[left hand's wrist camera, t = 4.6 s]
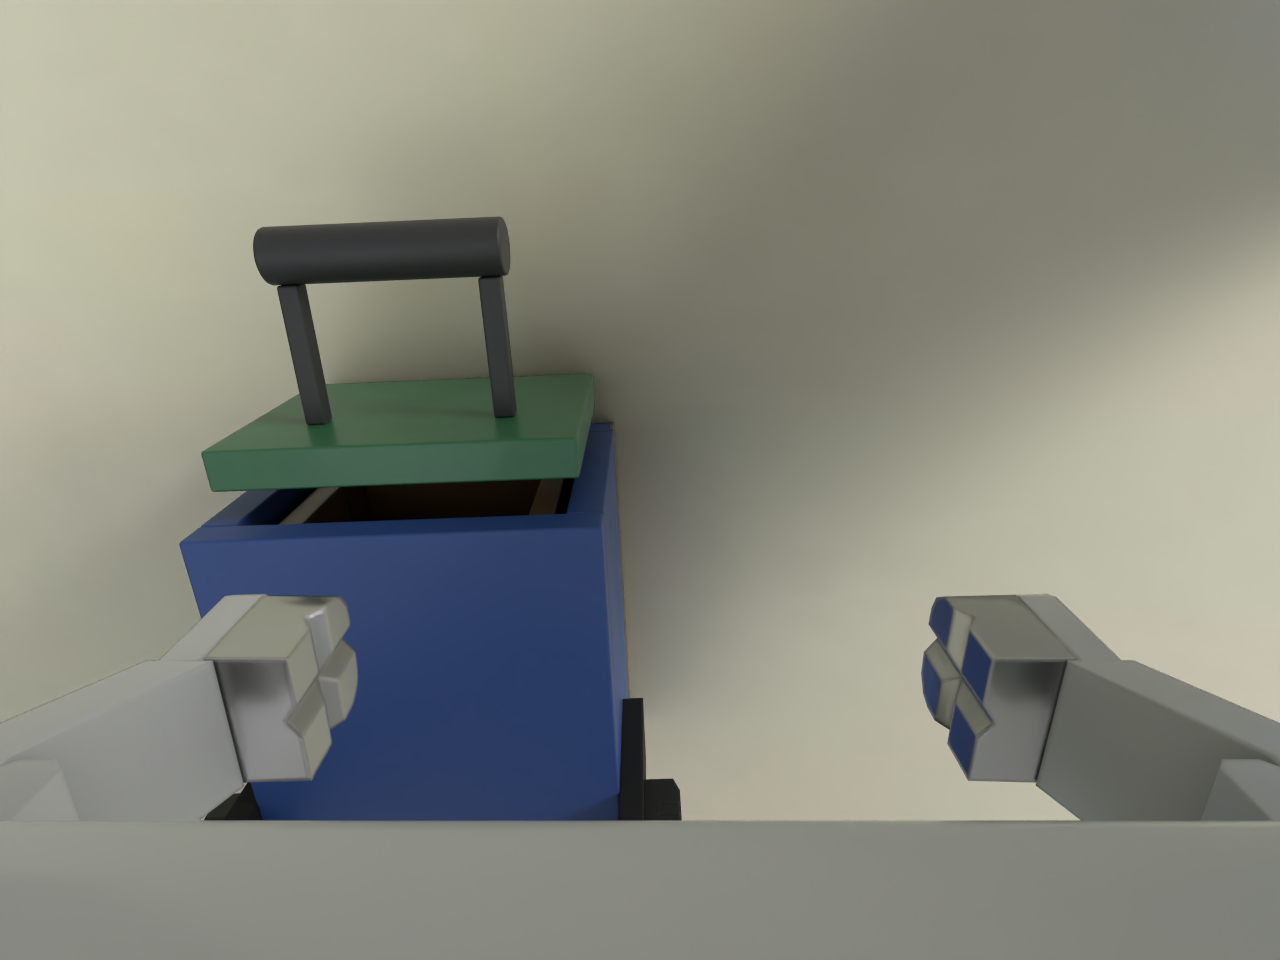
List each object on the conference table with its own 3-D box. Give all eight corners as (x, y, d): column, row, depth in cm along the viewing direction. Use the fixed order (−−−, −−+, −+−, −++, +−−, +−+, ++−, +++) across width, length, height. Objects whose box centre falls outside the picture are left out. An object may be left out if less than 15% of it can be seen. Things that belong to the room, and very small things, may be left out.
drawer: (279, 222, 25) (139, 234, 18) (582, 209, 25) (559, 216, 18) (375, 682, 32) (300, 820, 25) (612, 674, 31) (604, 810, 25)
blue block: (319, 433, 29) (176, 542, 20) (614, 422, 28) (601, 527, 20) (382, 733, 34) (291, 924, 25) (631, 724, 34) (627, 914, 25)
